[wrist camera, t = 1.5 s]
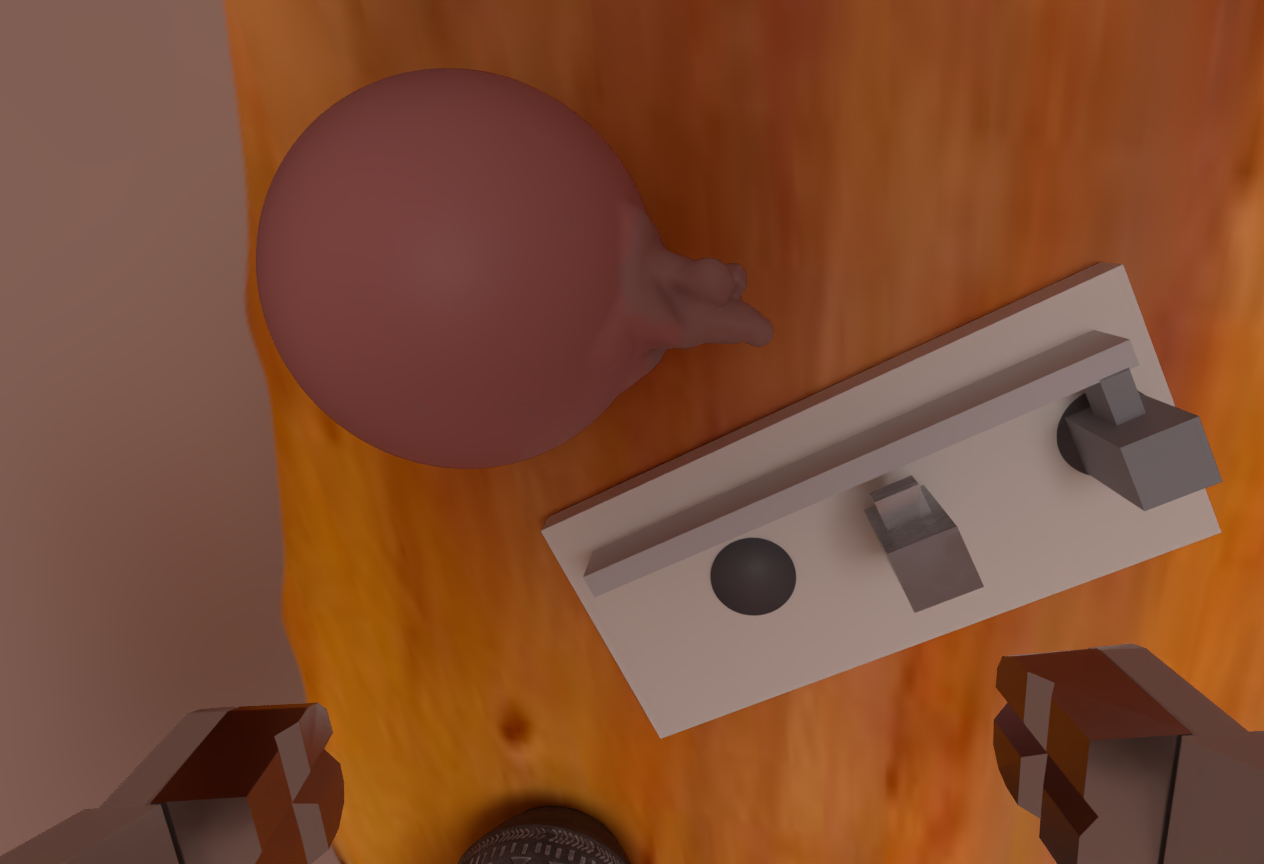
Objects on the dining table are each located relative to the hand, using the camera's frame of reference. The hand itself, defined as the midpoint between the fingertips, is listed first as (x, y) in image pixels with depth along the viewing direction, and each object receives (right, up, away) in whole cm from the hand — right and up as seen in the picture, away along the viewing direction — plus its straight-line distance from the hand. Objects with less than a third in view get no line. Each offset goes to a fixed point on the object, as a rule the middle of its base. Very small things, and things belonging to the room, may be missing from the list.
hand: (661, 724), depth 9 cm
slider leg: (+13, 0, +27) cm, 29 cm away
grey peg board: (+11, -1, +30) cm, 32 cm away
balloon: (-4, +11, +28) cm, 31 cm away
